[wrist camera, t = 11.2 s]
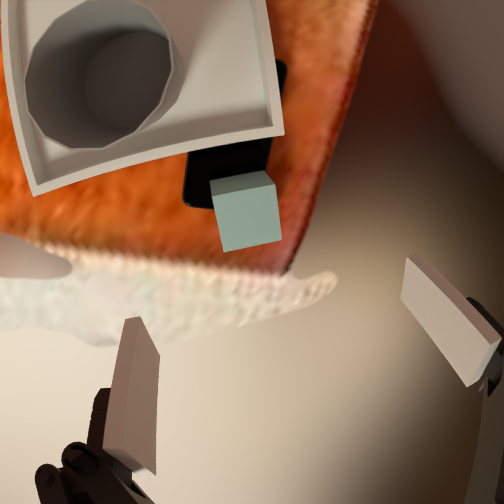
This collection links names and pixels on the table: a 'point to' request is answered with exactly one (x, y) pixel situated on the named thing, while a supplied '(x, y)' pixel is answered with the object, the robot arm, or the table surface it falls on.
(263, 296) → the table surface
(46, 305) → the table surface
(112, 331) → the table surface
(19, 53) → the shallow white dish
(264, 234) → the block
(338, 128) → the table surface
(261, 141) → the smartphone
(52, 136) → the cup
